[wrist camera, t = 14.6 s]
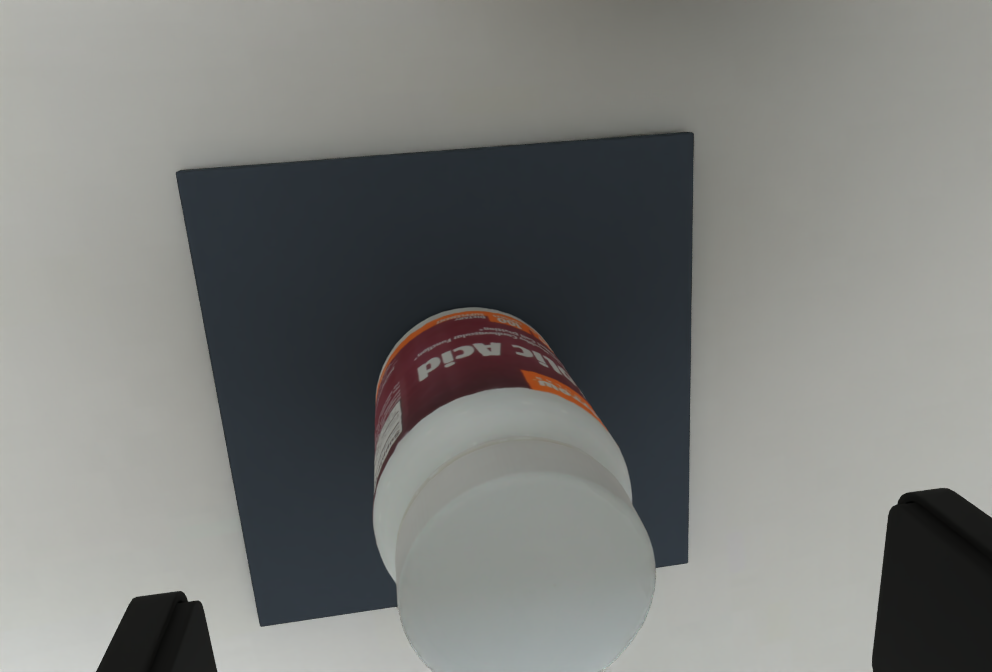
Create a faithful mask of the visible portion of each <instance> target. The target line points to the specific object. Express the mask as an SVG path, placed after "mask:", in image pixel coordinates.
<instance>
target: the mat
mask: <svg viewBox="0 0 992 672" xmlns="http://www.w3.org/2000/svg"><path fill="white" fill-rule="evenodd" d="M693 151H694V134H693V133H692V132H680V133H667V134H653V135H640V136H627V137H614V138H601V139H587V140H574V141H561V142H548V143H535V144H521V145H508V146H495V147H482V148H469V149H455V150H442V151H429V152H416V153H403V154H389V155H376V156H363V157H350V158H337V159H323V160H310V161H297V162H284V163H271V164H257V165H244V166H231V167H218V168H205V169H191V170H180V171H178V172H176V178H177V183H178V188H179V194H180V199H181V205H182V210H183V215H184V221H185V226H186V231H187V237H188V242H189V247H190V253H191V258H192V264H193V269H194V274H195V280H196V285H197V290H198V296H199V301H200V306H201V312H202V317H203V323H204V328H205V333H206V339H207V344H208V349H209V355H210V360H211V366H212V371H213V376H214V382H215V387H216V392H217V398H218V403H219V408H220V414H221V419H222V425H223V430H224V435H225V441H226V446H227V451H228V457H229V462H230V468H231V473H232V478H233V484H234V489H235V494H236V500H237V505H238V510H239V516H240V521H241V527H242V532H243V537H244V543H245V548H246V553H247V559H248V564H249V570H250V575H251V580H252V586H253V591H254V596H255V602H256V607H257V612H258V618H259V623H260V626H261V627H262V626H269V625H276V624H283V623H289V622H296V621H303V620H309V619H316V618H323V617H330V616H336V615H343V614H350V613H356V612H363V611H370V610H377V609H383V608H390V607H397V606H398V605H397V586H396V583H395V581H394V580H393V578H392V577H391V575H390V574H389V572H388V570H387V569H386V567H385V565H384V563H383V560H382V558H381V555H380V552H379V550H378V547H377V544H376V538H375V534H374V528H373V516H372V513H373V497H374V469H375V465H374V461H375V436H374V435H375V407H376V389H377V384H378V380H379V376H380V373H381V370H382V367H383V365H384V363H385V361H386V359H387V357H388V355H389V354H390V352H391V351H392V349H393V348H394V346H395V345H396V344H397V342H398V341H399V340H400V339H401V338H402V337H403V336H404V335H405V334H406V333H407V332H408V331H409V330H411V329H412V328H413V327H415V326H416V325H418V324H419V323H420V322H422V321H424V320H426V319H427V318H429V317H431V316H434V315H436V314H439V313H441V312H444V311H449V310H453V309H458V308H468V307H479V308H487V309H493V310H498V311H501V312H504V313H507V314H510V315H512V316H515V317H517V318H519V319H521V320H522V321H524V322H525V323H527V324H528V325H529V326H531V327H532V328H533V329H534V330H536V331H537V332H538V333H539V334H540V335H541V336H542V338H543V339H544V340H545V341H546V343H547V344H548V345H549V347H550V348H551V350H552V351H553V352H554V354H555V355H556V357H557V358H558V359H559V360H560V362H561V363H562V364H563V365H564V367H565V369H566V371H567V372H568V374H569V375H570V376H571V378H572V379H573V381H574V382H575V384H576V385H577V387H578V388H579V389H580V391H581V392H582V394H583V395H584V397H585V398H586V400H587V401H588V402H589V403H590V405H591V406H592V408H593V410H594V411H595V413H596V415H597V416H598V417H599V418H600V420H601V421H602V423H603V424H604V426H605V427H606V428H607V430H608V432H609V433H610V435H611V436H612V438H613V439H614V441H615V442H616V444H617V445H618V447H619V448H620V451H621V453H622V455H623V458H624V461H625V463H626V466H627V470H628V474H629V478H630V483H631V491H632V505H633V507H634V509H635V510H636V512H637V514H638V516H639V518H640V520H641V521H642V523H643V525H644V527H645V529H646V531H647V533H648V536H649V539H650V542H651V545H652V548H653V553H654V558H655V568H658V567H665V566H672V565H678V564H685V563H688V521H689V447H690V373H691V299H692V225H693Z"/></svg>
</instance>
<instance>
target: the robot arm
mask: <svg viewBox="0 0 992 672" xmlns="http://www.w3.org/2000/svg"><path fill="white" fill-rule="evenodd" d="M872 667H873V672H992V518H991V517H990V516H988V515H987V514H986V513H984V512H983V511H981V510H980V509H978V508H977V507H976V506H974V505H973V504H971V503H970V502H968V501H967V500H966V499H964V498H963V497H961V496H960V495H959V494H957V493H956V492H954V491H952V490H950V489H948V488H939V489H931V490H924V491H917V492H909V493H905V494H904V495H902V496H901V497H900V499H899V500H898V504H897V505H895V506H893V507H892V508H891V509H890V511H889V515H888V523H887V532H886V541H885V549H884V558H883V567H882V576H881V585H880V594H879V603H878V611H877V620H876V629H875V638H874V647H873V656H872ZM96 672H217V668H216V664H215V659H214V655H213V650H212V645H211V641H210V636H209V632H208V627H207V622H206V618H205V613H204V609H203V606H202V604H201V602H200V601H191V602H188V600H187V597H186V595H185V594H184V592H182V591H177V592H169V593H162V594H155V595H147V596H140V597H136V598H133V599H132V601H131V602H130V604H129V606H128V608H127V610H126V612H125V614H124V616H123V618H122V620H121V622H120V624H119V626H118V628H117V630H116V632H115V634H114V636H113V638H112V640H111V642H110V644H109V646H108V648H107V650H106V653H105V655H104V657H103V659H102V661H101V663H100V665H99V667H98V669H97V671H96Z"/></svg>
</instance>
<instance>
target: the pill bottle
mask: <svg viewBox="0 0 992 672" xmlns="http://www.w3.org/2000/svg"><path fill="white" fill-rule="evenodd" d="M374 436H375V461H374V465H375V469H374V497H373V513H372V516H373V528H374V534H375V538H376V544H377V547H378V550H379V552H380V555H381V558H382V560H383V563H384V565H385V567H386V569H387V570H388V572H389V574H390V575H391V577H392V578H393V580H394V581H395V583H396V586H397V605H398V610H399V615H400V620H401V623H402V626H403V629H404V632H405V634H406V637H407V639H408V640H409V642H410V644H411V646H412V648H413V649H414V651H415V652H416V653H417V655H418V656H419V658H420V659H421V660H422V661H423V662H424V663H425V665H426V666H428V667H429V668H430V669H431V671H432V672H600V671H602V670H603V669H604V668H606V667H607V666H609V665H610V664H611V663H612V662H613V661H615V660H616V659H617V658H618V657H619V656H620V654H621V653H622V652H623V651H624V650H625V649H626V648H627V647H628V646H629V644H630V643H631V642H632V640H633V639H634V637H635V636H636V634H637V632H638V631H639V629H640V628H641V626H642V624H643V623H644V621H645V619H646V617H647V614H648V611H649V608H650V606H651V603H652V599H653V594H654V590H655V580H656V570H655V558H654V553H653V548H652V545H651V542H650V539H649V536H648V533H647V531H646V529H645V527H644V525H643V523H642V521H641V520H640V518H639V516H638V514H637V512H636V510H635V509H634V507H633V505H632V491H631V483H630V478H629V474H628V470H627V466H626V463H625V461H624V458H623V455H622V453H621V451H620V448H619V447H618V445H617V444H616V442H615V441H614V439H613V438H612V436H611V435H610V433H609V432H608V430H607V428H606V427H605V426H604V424H603V423H602V421H601V420H600V418H599V417H598V416H597V415H596V413H595V411H594V410H593V408H592V406H591V405H590V403H589V402H588V401H587V400H586V398H585V397H584V395H583V394H582V392H581V391H580V389H579V388H578V387H577V385H576V384H575V382H574V381H573V379H572V378H571V376H570V375H569V374H568V372H567V371H566V369H565V367H564V365H563V364H562V363H561V362H560V360H559V359H558V358H557V357H556V355H555V354H554V352H553V351H552V350H551V348H550V347H549V345H548V344H547V343H546V341H545V340H544V339H543V338H542V336H541V335H540V334H539V333H538V332H537V331H536V330H534V329H533V328H532V327H531V326H529V325H528V324H527V323H525V322H524V321H522V320H521V319H519V318H517V317H515V316H512V315H510V314H507V313H504V312H501V311H498V310H493V309H487V308H479V307H468V308H458V309H453V310H449V311H444V312H441V313H439V314H436V315H434V316H431V317H429V318H427V319H426V320H424V321H422V322H420V323H419V324H418V325H416V326H415V327H413V328H412V329H411V330H409V331H408V332H407V333H406V334H405V335H404V336H403V337H402V338H401V339H400V340H399V341H398V342H397V344H396V345H395V346H394V348H393V349H392V351H391V352H390V354H389V355H388V357H387V359H386V361H385V363H384V365H383V367H382V370H381V373H380V376H379V380H378V384H377V389H376V407H375V435H374Z"/></svg>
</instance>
